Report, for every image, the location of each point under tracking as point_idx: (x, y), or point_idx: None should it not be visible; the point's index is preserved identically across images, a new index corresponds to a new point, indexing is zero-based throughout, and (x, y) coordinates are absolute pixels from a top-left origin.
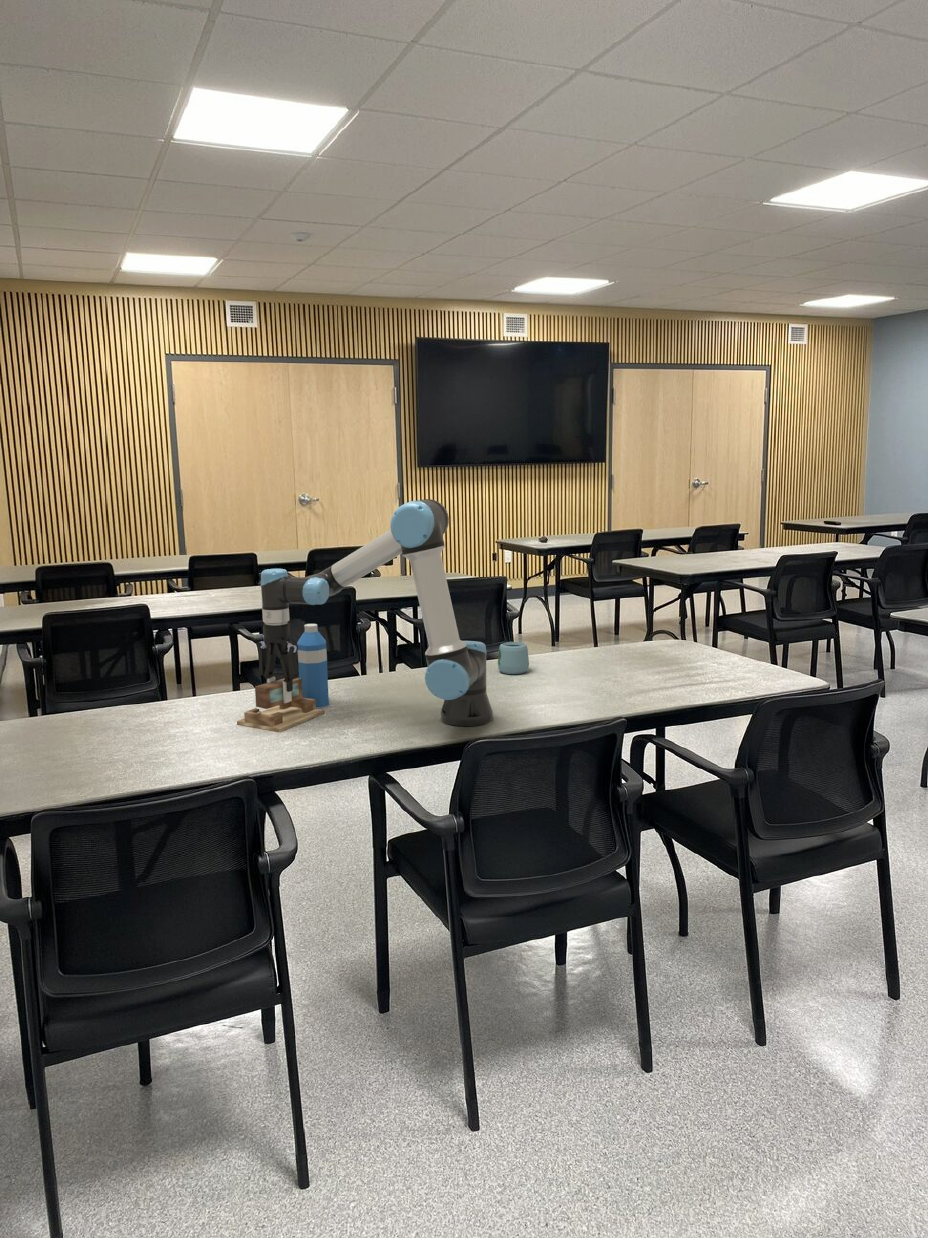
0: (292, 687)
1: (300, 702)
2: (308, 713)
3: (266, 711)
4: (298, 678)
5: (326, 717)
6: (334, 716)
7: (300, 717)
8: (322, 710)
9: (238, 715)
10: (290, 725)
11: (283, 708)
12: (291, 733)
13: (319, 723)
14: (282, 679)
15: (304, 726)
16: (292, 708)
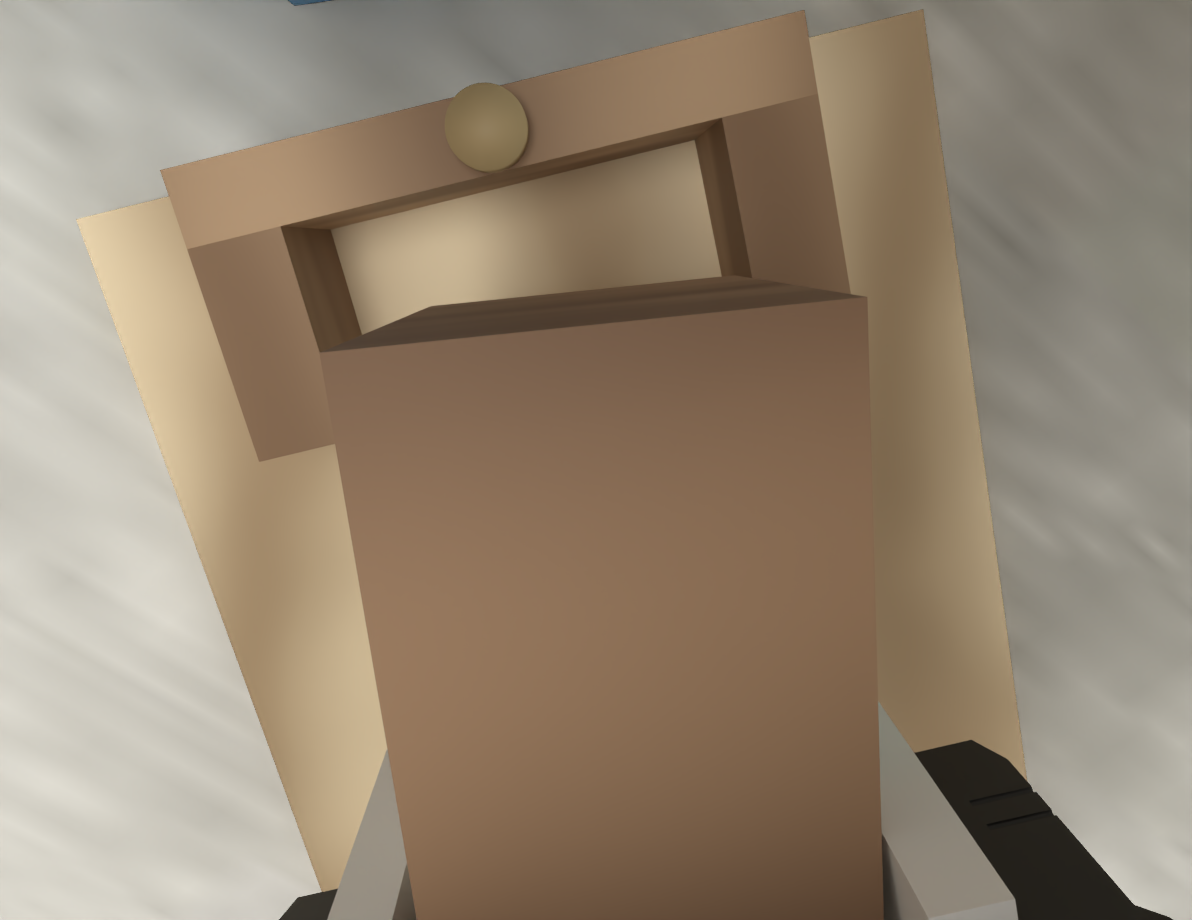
0: (1034, 797)
1: (521, 174)
2: (852, 293)
3: (286, 623)
4: (767, 368)
5: (1073, 136)
6: (1141, 18)
7: (908, 494)
8: (915, 36)
9: (57, 837)
10: (1014, 743)
11: None
12: (1162, 835)
13: (1182, 389)
14: (448, 774)
15: (1103, 590)
16: (444, 285)
